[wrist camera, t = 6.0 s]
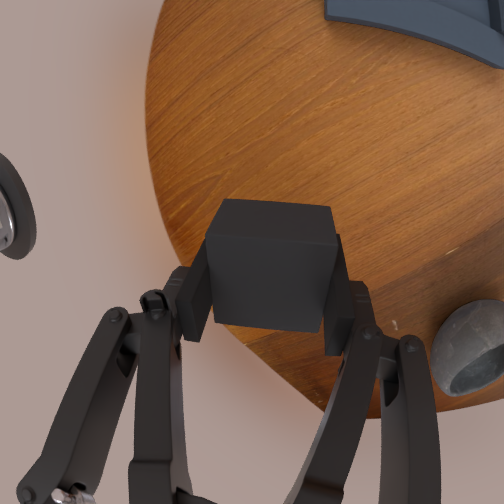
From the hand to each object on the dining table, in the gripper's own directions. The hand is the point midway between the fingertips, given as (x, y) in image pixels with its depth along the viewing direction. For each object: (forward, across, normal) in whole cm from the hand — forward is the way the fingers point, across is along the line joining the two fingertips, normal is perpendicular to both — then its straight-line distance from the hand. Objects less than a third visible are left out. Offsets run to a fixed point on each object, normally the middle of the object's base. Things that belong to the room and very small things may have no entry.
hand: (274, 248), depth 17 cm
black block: (0, 0, 0) cm, 0 cm away
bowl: (+11, +29, -17) cm, 36 cm away
